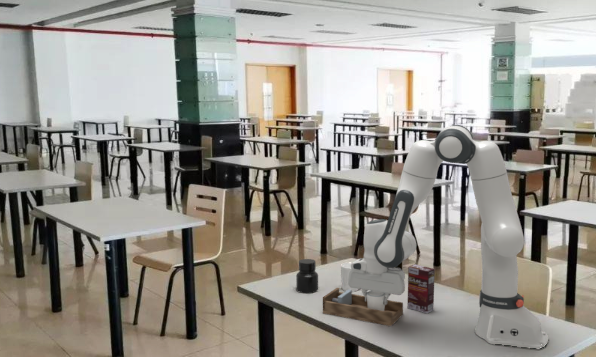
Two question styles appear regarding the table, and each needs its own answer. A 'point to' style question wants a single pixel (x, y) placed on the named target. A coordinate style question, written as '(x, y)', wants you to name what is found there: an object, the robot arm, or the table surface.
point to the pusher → (344, 298)
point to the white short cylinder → (375, 300)
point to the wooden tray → (362, 309)
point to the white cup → (346, 277)
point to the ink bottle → (307, 276)
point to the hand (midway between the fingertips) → (376, 302)
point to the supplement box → (421, 288)
